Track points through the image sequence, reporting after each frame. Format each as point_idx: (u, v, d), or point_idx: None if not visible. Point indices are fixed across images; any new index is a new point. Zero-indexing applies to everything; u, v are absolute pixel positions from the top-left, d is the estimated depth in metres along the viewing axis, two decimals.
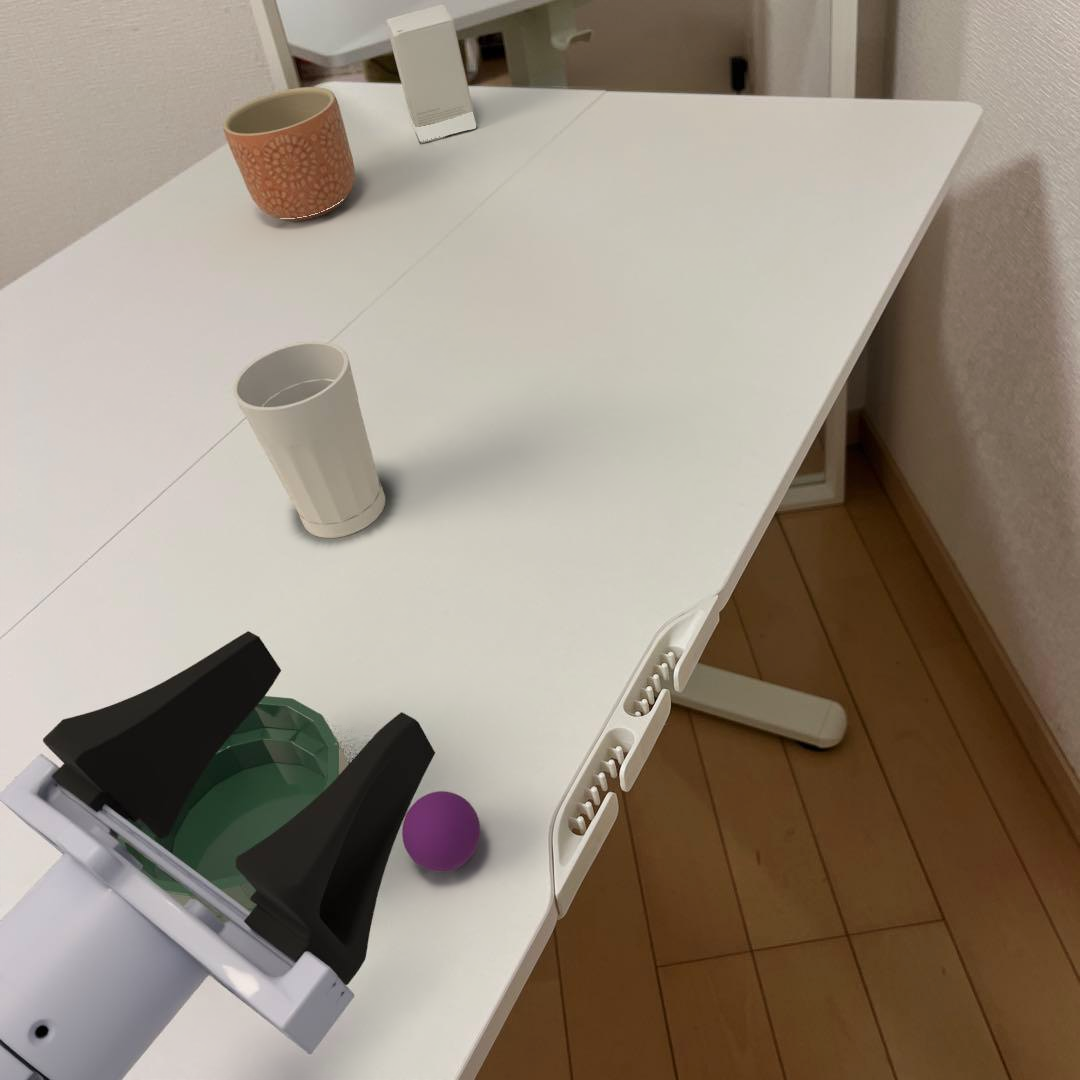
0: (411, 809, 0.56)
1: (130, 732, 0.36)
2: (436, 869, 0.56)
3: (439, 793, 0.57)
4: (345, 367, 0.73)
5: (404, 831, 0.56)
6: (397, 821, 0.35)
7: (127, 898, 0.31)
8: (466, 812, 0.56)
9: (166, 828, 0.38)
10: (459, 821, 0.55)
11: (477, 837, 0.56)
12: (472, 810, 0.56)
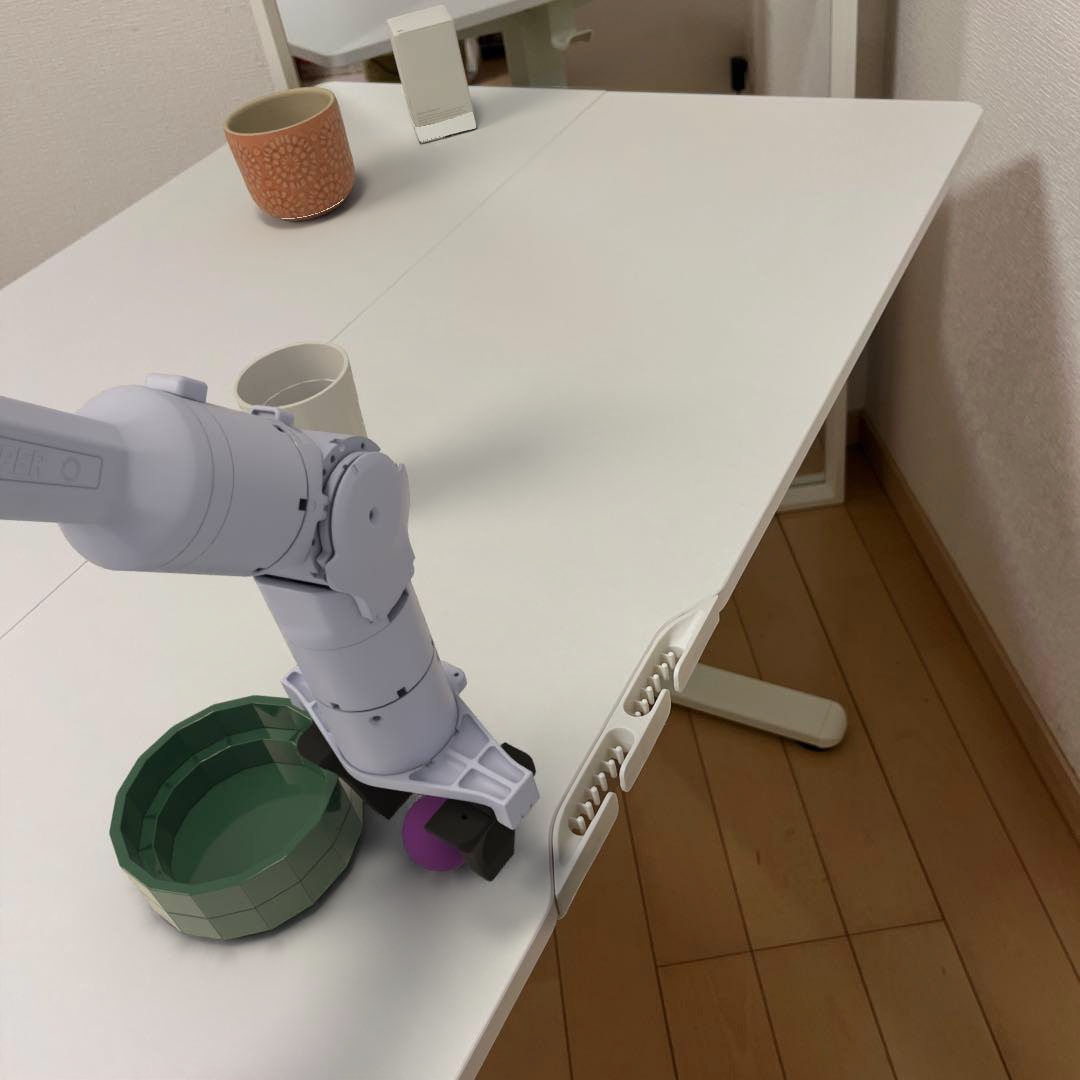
0: (411, 809, 0.56)
1: None
2: (436, 869, 0.56)
3: None
4: (345, 367, 0.73)
5: (404, 831, 0.56)
6: (483, 861, 0.53)
7: None
8: None
9: (330, 765, 0.53)
10: None
11: None
12: None
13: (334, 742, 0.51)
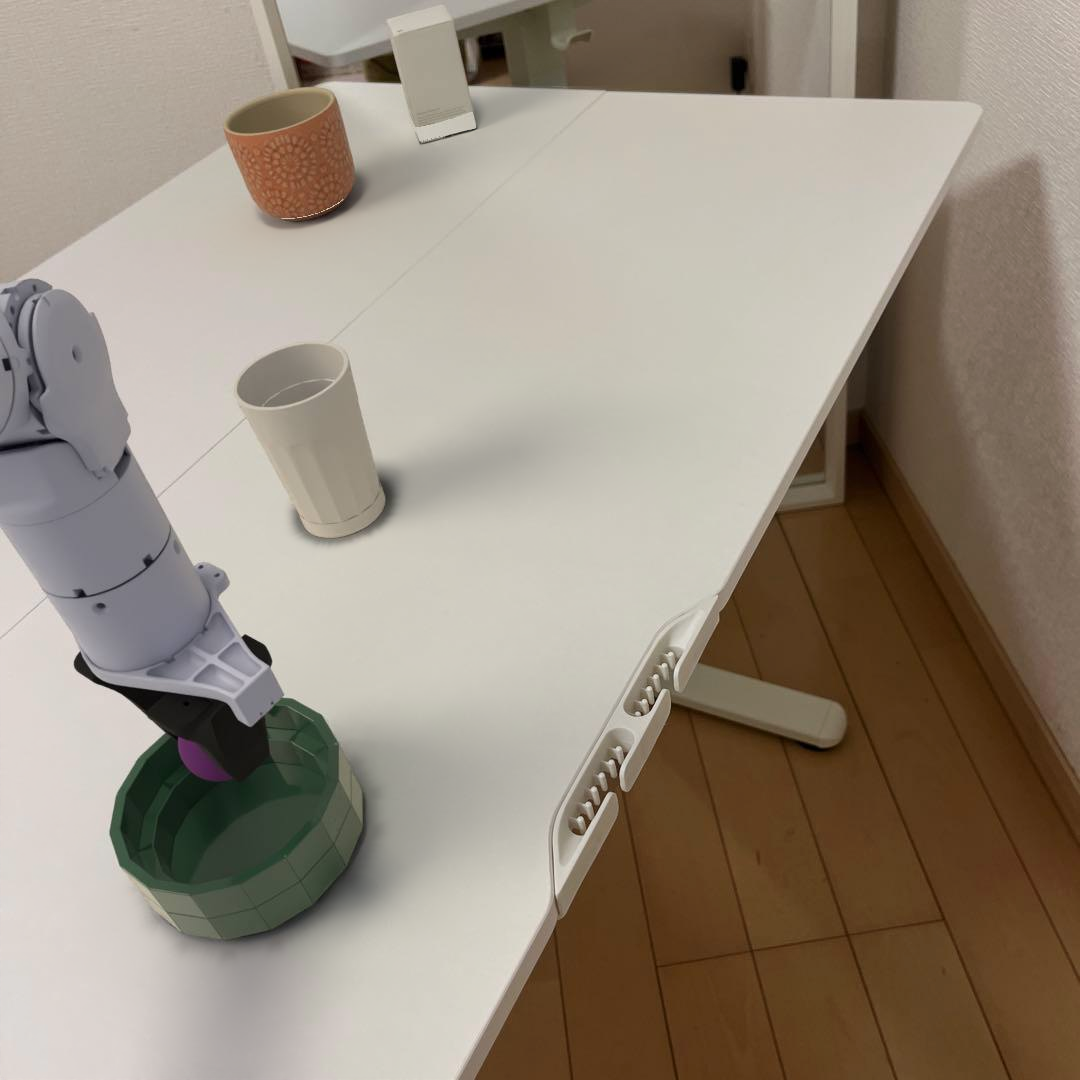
0: None
1: None
2: (210, 778, 0.54)
3: None
4: (345, 367, 0.73)
5: (178, 739, 0.54)
6: (224, 757, 0.51)
7: (216, 596, 0.49)
8: None
9: (104, 681, 0.51)
10: None
11: None
12: None
13: None
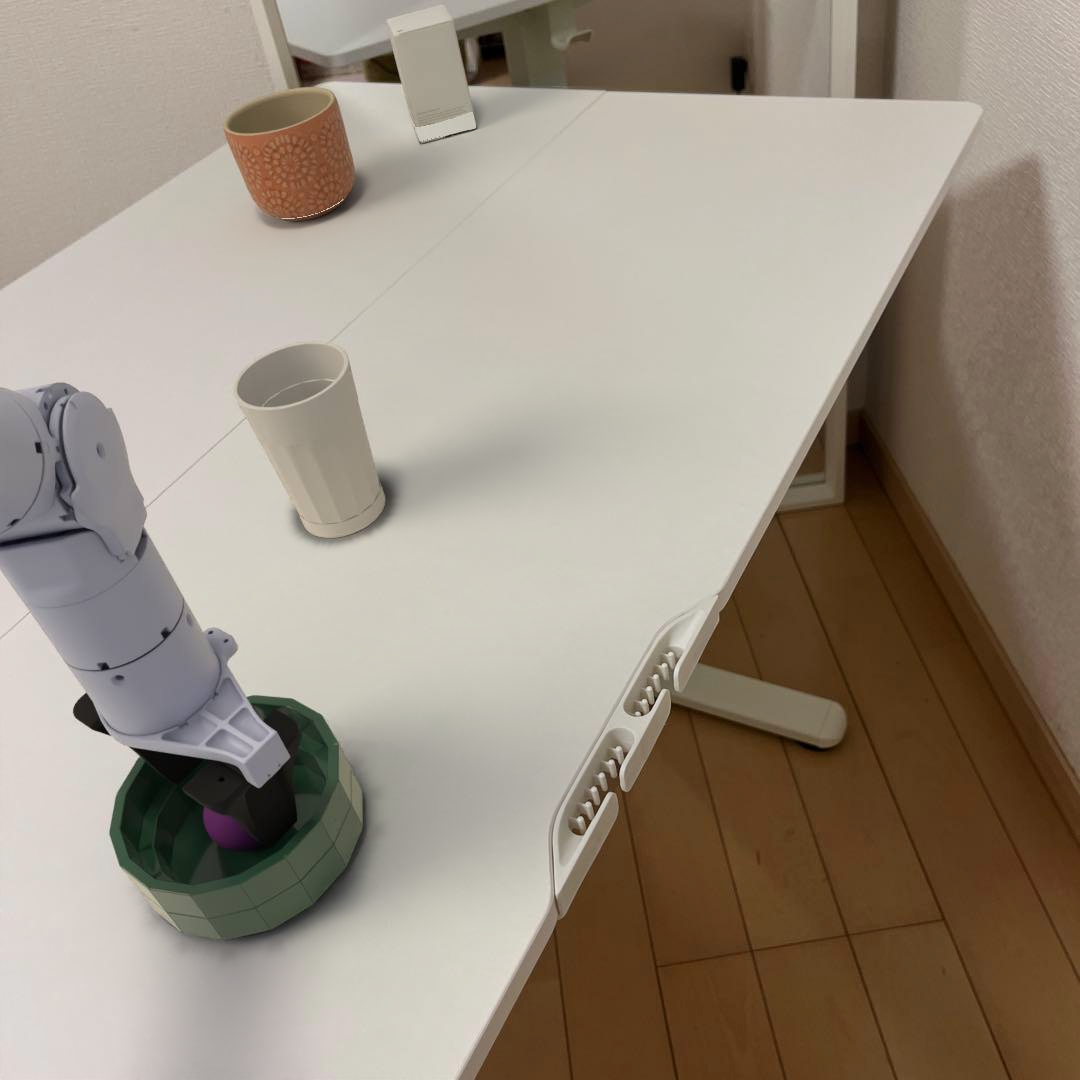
0: None
1: None
2: (233, 849, 0.58)
3: None
4: (345, 367, 0.73)
5: (204, 812, 0.58)
6: (255, 826, 0.54)
7: (225, 662, 0.53)
8: None
9: (101, 728, 0.55)
10: None
11: None
12: None
13: None
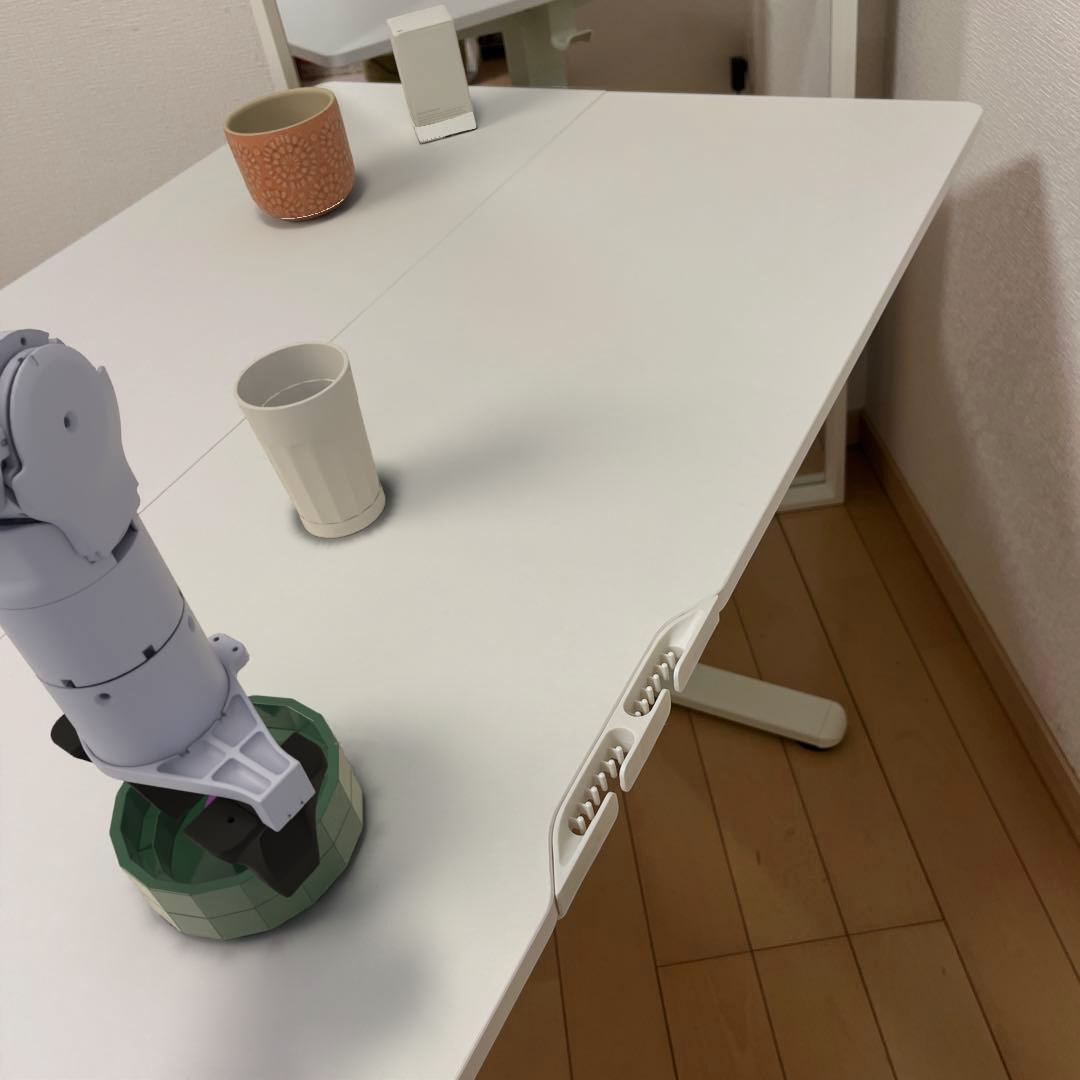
0: None
1: None
2: None
3: None
4: (345, 367, 0.73)
5: None
6: (270, 874, 0.44)
7: (234, 675, 0.43)
8: None
9: (85, 754, 0.45)
10: None
11: None
12: None
13: None
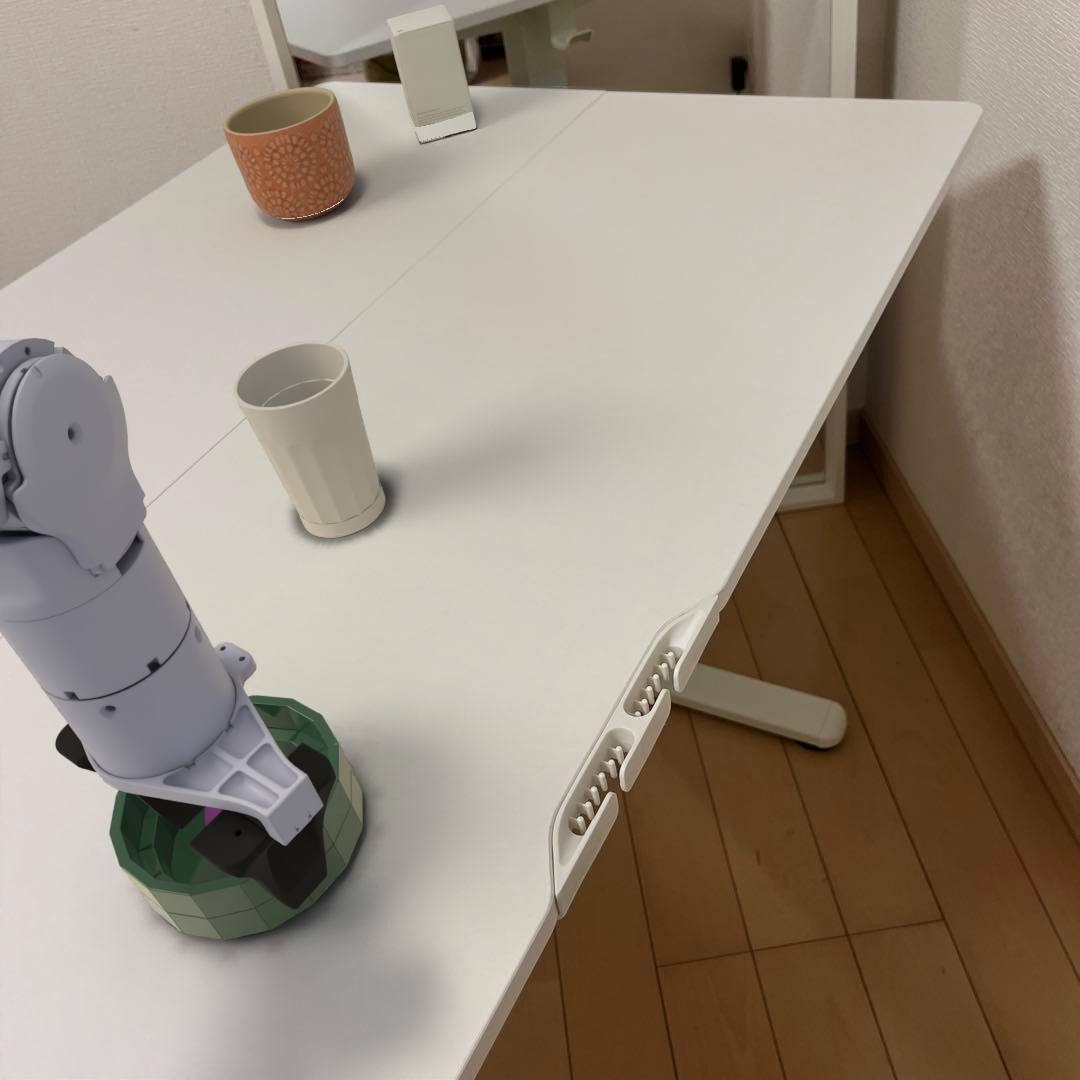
0: None
1: None
2: None
3: None
4: (345, 367, 0.73)
5: (205, 812, 0.58)
6: (277, 886, 0.44)
7: (241, 685, 0.43)
8: None
9: (90, 764, 0.45)
10: None
11: None
12: None
13: None
